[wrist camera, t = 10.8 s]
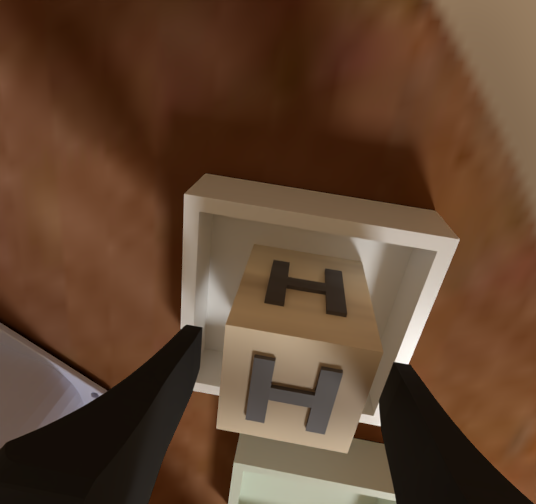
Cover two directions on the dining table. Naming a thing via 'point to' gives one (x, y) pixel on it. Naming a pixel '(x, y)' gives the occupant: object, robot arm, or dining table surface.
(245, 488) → the sage tray
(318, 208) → the white tray
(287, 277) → the letter block
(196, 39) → the dining table surface
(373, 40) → the dining table surface
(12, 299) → the dining table surface
